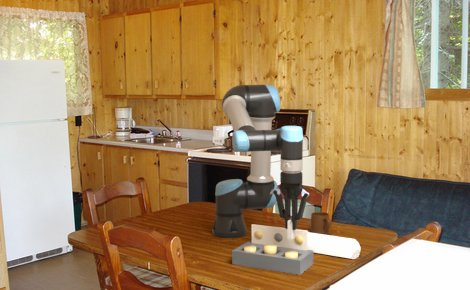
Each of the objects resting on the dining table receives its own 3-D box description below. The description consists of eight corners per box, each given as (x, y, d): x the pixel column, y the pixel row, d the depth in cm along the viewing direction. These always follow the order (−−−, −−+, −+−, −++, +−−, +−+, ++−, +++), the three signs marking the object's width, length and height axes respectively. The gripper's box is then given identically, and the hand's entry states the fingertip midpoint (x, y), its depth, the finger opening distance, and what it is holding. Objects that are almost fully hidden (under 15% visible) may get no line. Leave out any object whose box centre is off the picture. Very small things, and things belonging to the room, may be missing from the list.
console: (232, 264, 193) (231, 231, 192) (248, 254, 204) (248, 223, 203) (300, 275, 181) (300, 240, 180) (313, 264, 192) (313, 231, 191)
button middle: (262, 257, 190) (262, 246, 189) (267, 254, 194) (267, 243, 193) (273, 259, 188) (273, 248, 187) (278, 256, 192) (278, 245, 191)
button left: (242, 258, 194) (241, 247, 193) (247, 255, 197) (247, 244, 197) (253, 260, 192) (252, 249, 191) (258, 257, 195) (258, 246, 195)
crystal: (295, 242, 207) (354, 252, 194) (302, 229, 211) (361, 238, 198) (299, 256, 210) (358, 266, 197) (306, 243, 215) (364, 252, 202)
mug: (337, 239, 224) (338, 217, 223) (322, 241, 222) (322, 218, 221) (323, 232, 235) (323, 211, 235) (307, 234, 233) (307, 212, 232)
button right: (283, 265, 186) (283, 253, 186) (287, 261, 190) (287, 250, 190) (294, 266, 184) (295, 255, 184) (299, 263, 188) (299, 252, 188)
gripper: (269, 171, 184) (269, 238, 186) (305, 174, 177) (304, 243, 180) (278, 168, 190) (278, 233, 193) (313, 171, 184) (312, 238, 187)
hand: (291, 238), depth 187 cm, fingers closed
